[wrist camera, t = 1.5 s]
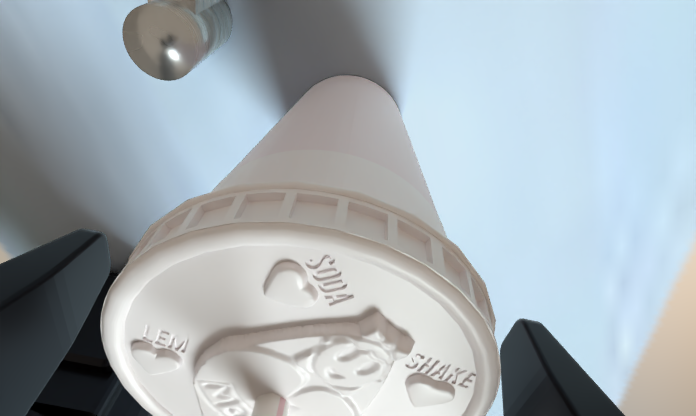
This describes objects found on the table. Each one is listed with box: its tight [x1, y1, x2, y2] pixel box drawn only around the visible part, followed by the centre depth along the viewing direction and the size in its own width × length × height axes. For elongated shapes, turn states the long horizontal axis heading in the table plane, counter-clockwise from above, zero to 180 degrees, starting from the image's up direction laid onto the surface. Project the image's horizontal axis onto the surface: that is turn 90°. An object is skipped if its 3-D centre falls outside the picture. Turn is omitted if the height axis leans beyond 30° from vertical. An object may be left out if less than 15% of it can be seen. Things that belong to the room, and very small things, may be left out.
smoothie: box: [100, 75, 501, 416], centre depth 9 cm, size 6×6×14 cm
